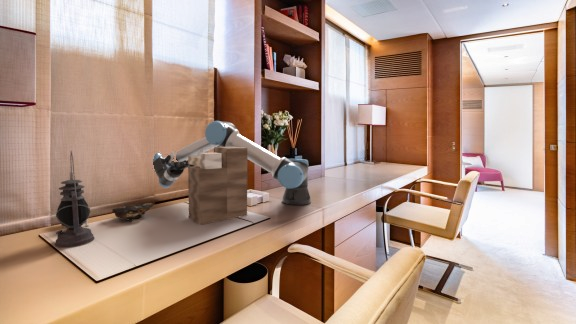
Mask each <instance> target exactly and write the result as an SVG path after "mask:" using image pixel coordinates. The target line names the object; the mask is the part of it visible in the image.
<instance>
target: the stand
mask: <svg viewBox="0 0 576 324" xmlns="http://www.w3.org/2000/svg"><path fill="white" fill-rule="evenodd" d="M213 149H214V152H213V153H222V168H216V169H203V168H200V167H199V166H192V167H187V173H188V174H187V175H188V176H187V181H188V186H187V187H188V219H190V220H191V221H193V222H195V223H196V224H198V225H206V224H211V223H216V222H221V221H226V220H229V219H230V218H231V219H236V218H239V216H241V217H245V216H244V215H246V216H248V159H247V153H248V148H244V147H220V146H217V147H214V148H213ZM235 217H236V218H235ZM231 219H230V220H231Z"/></svg>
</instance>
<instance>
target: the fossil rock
mask: <svg viewBox="0 0 576 324" xmlns="http://www.w3.org/2000/svg"><path fill="white" fill-rule="evenodd" d="M154 206H155V203H153V202H143V203H136V204H129V205H127V204H126V205H124V206H122V207H115V208H112V209H111V211H112V213H113V214H114V216H115V217H116V218H118V219H122V220H126V221H127V220H128V221H139V220H141V218H142V215H145V214H146V212H148V211H149V210H150V209H151V208H153V207H154Z"/></svg>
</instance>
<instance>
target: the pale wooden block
mask: <svg viewBox="0 0 576 324" xmlns="http://www.w3.org/2000/svg"><path fill="white" fill-rule="evenodd" d="M188 164H191V165H195V166H199V167H200V168H203V169H216V168H222V153H214V152H204V153H200V157H199V156H188Z"/></svg>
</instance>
